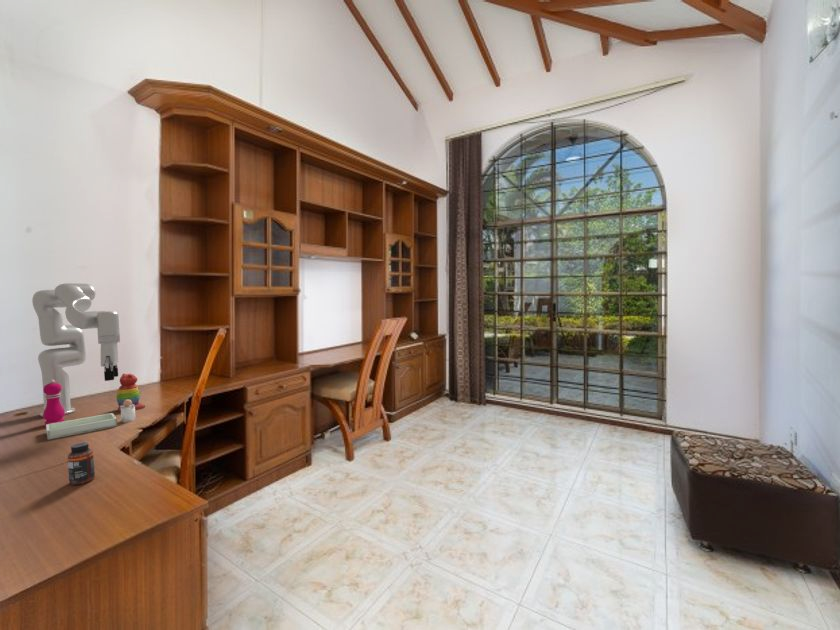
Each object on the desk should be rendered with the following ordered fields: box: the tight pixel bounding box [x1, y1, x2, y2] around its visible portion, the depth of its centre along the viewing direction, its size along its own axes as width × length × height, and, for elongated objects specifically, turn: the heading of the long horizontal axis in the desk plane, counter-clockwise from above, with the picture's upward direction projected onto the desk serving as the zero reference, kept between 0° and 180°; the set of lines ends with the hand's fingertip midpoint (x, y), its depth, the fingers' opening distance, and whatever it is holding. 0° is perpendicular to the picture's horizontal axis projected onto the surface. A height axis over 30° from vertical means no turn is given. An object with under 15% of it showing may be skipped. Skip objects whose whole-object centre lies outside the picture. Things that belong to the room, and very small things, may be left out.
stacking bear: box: [116, 373, 146, 412], centre depth 199 cm, size 11×10×18 cm
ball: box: [123, 399, 132, 407], centre depth 180 cm, size 3×3×3 cm
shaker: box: [120, 404, 136, 423], centre depth 180 cm, size 5×5×7 cm
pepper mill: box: [42, 380, 66, 427], centre depth 176 cm, size 7×7×20 cm
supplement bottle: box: [67, 441, 96, 486], centre depth 120 cm, size 6×6×11 cm
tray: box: [45, 412, 118, 441], centre depth 168 cm, size 12×22×4 cm, turn 135°
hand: (111, 378), depth 174 cm, fingers open, 9 cm apart
